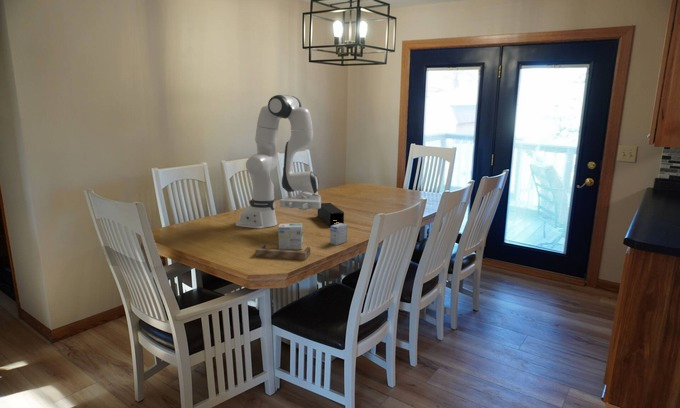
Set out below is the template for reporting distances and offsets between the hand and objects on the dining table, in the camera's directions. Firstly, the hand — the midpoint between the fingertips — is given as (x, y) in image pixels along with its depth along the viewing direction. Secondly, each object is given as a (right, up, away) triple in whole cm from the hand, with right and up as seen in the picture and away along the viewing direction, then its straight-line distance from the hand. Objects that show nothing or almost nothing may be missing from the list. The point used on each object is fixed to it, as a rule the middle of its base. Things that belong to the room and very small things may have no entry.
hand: (296, 206), depth 207 cm
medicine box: (+20, -17, +2) cm, 27 cm away
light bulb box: (-2, -19, -6) cm, 20 cm away
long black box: (+19, -7, +29) cm, 36 cm away
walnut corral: (-4, -21, -16) cm, 27 cm away
